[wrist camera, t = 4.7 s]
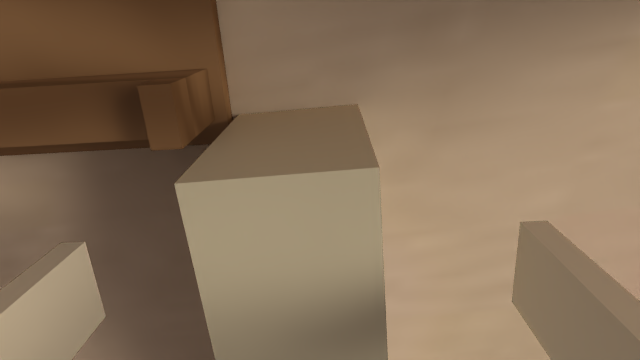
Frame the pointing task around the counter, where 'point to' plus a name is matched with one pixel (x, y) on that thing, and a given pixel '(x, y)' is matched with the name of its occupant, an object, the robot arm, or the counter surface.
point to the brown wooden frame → (110, 75)
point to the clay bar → (289, 237)
